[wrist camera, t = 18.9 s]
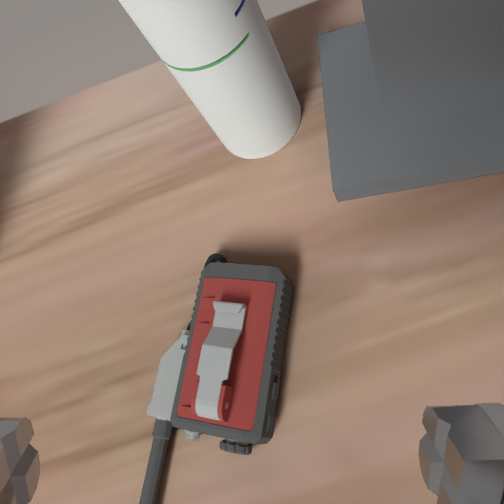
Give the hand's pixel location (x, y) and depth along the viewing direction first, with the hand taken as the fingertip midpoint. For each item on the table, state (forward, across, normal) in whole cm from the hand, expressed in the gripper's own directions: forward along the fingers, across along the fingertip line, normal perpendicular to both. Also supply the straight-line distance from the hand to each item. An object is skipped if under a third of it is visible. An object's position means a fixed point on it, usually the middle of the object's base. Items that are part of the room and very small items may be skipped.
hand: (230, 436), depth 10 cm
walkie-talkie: (+20, +1, +14) cm, 25 cm away
